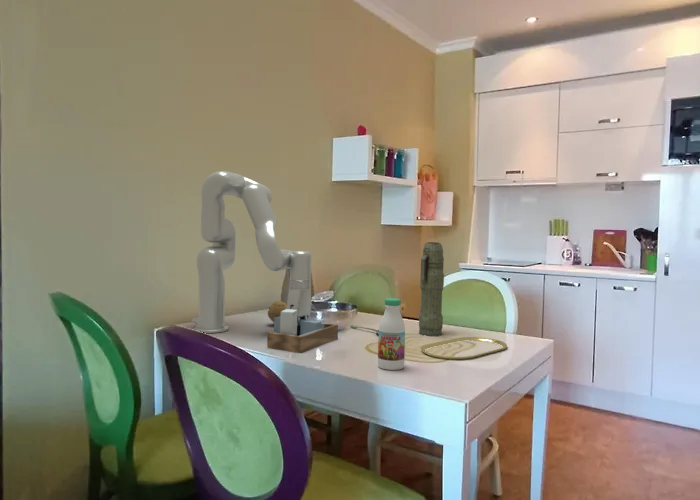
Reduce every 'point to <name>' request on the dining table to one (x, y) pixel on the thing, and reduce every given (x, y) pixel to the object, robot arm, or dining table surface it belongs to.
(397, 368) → the milk bottle
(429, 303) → the thermos
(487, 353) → the serving platter
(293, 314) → the skincare box
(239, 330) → the dining table surface
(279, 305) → the natural sponge
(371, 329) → the soupspoon
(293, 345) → the wooden u-shaped tray
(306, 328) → the crook
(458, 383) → the dining table surface
